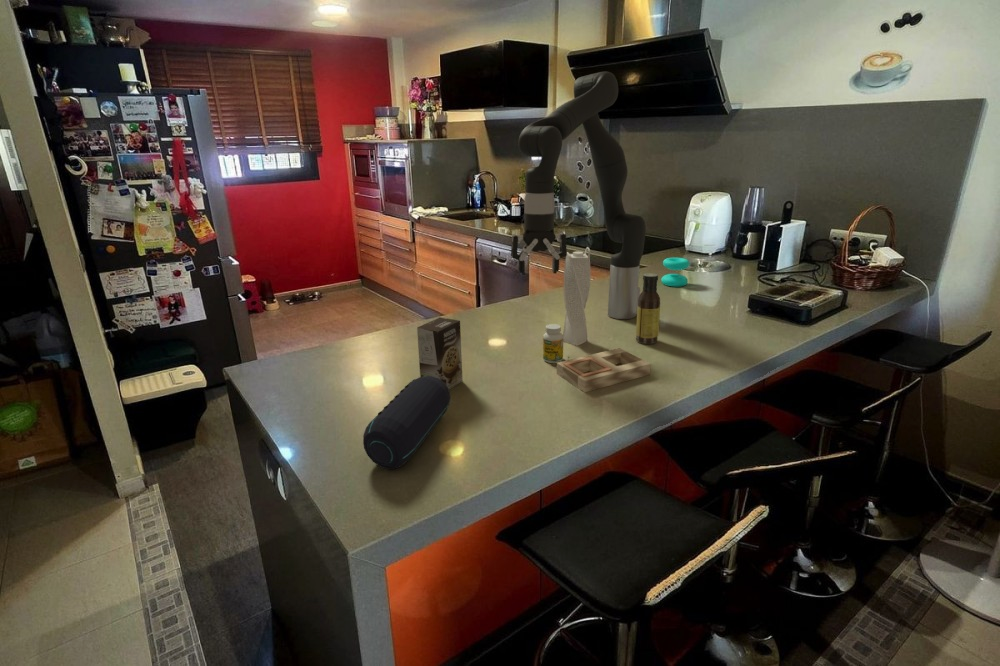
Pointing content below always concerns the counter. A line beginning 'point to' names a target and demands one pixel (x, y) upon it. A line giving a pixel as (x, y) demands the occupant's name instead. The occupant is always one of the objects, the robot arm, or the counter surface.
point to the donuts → (675, 279)
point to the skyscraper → (576, 296)
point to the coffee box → (441, 350)
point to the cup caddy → (602, 369)
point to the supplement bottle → (553, 344)
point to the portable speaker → (406, 422)
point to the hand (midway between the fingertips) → (538, 273)
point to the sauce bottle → (648, 311)
